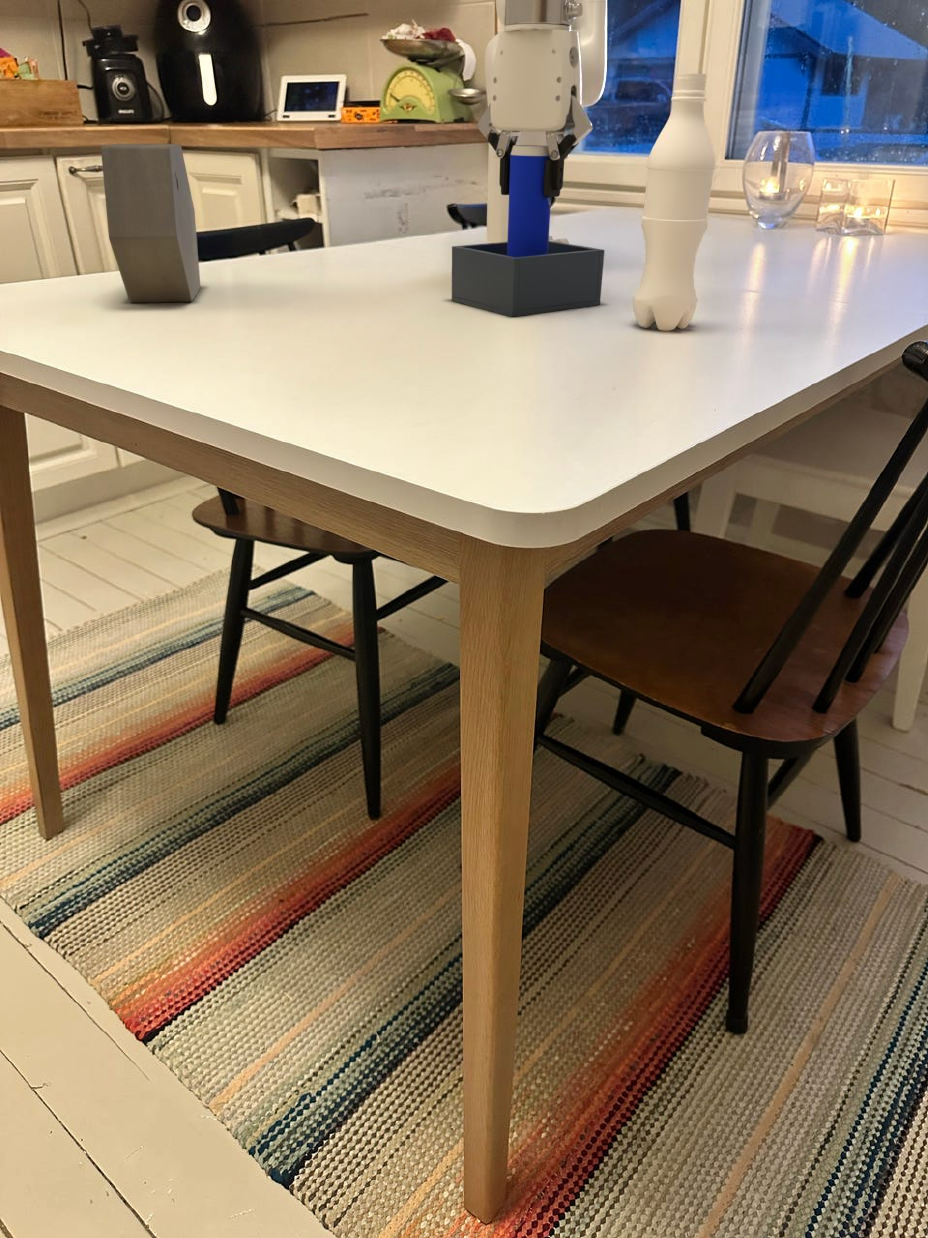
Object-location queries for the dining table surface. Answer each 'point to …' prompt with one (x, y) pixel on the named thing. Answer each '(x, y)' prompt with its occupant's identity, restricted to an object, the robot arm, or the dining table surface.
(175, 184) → the planter
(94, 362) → the dining table surface
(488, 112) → the robot arm
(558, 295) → the tub
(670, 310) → the water bottle
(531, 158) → the beverage can
